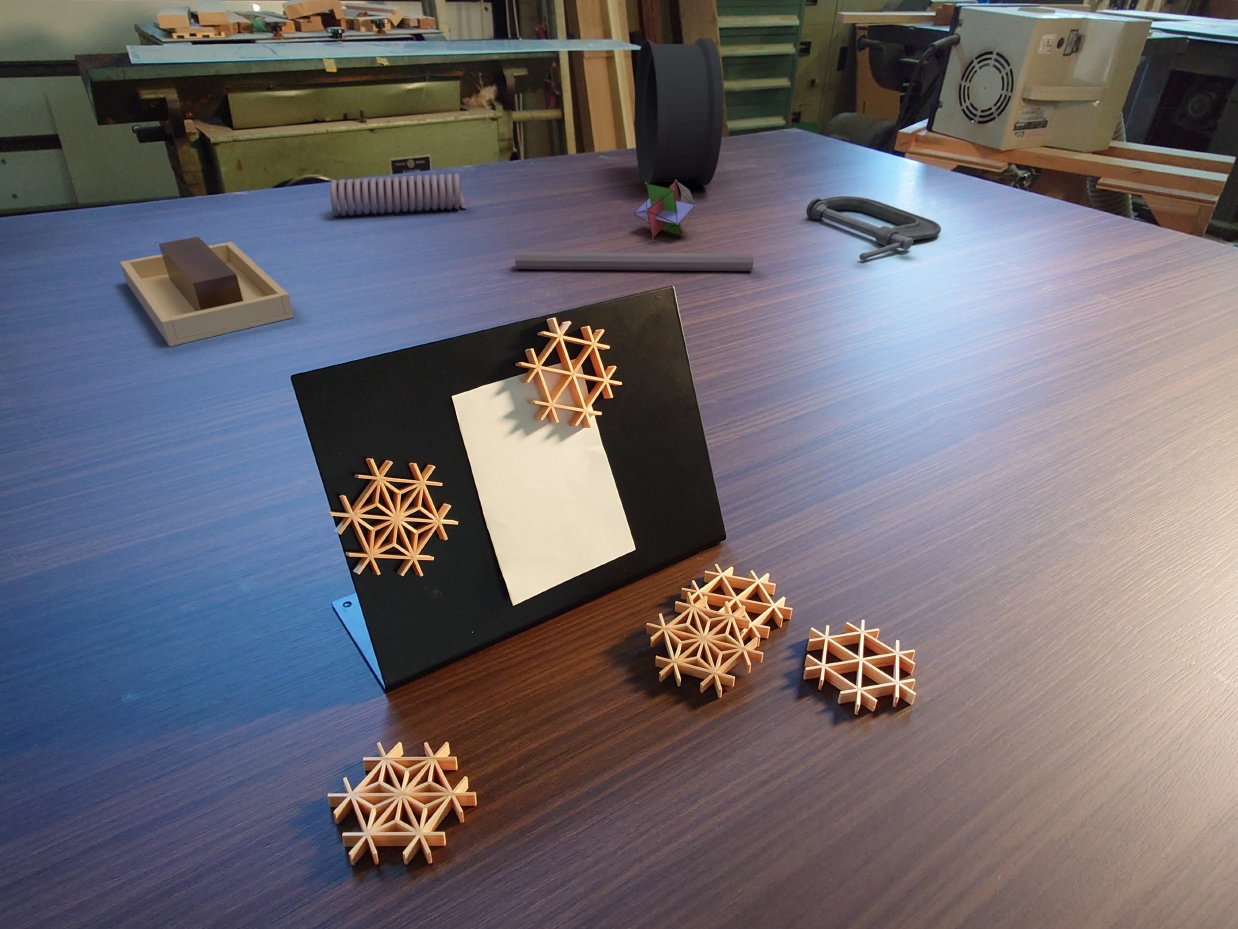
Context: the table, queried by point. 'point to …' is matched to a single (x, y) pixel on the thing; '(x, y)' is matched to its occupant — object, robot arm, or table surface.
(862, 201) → the c clamp
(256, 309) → the tray
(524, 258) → the metal rod
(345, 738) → the table surface
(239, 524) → the table surface
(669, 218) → the geometric puzzle
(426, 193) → the coil
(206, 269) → the block
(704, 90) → the wheel rim
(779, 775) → the table surface
